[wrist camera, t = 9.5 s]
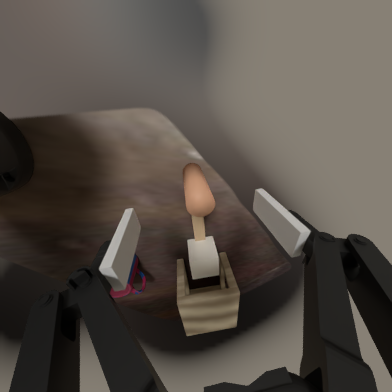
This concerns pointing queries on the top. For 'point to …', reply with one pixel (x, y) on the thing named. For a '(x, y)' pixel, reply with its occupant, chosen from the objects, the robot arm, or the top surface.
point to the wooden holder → (208, 301)
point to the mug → (131, 281)
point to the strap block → (200, 223)
